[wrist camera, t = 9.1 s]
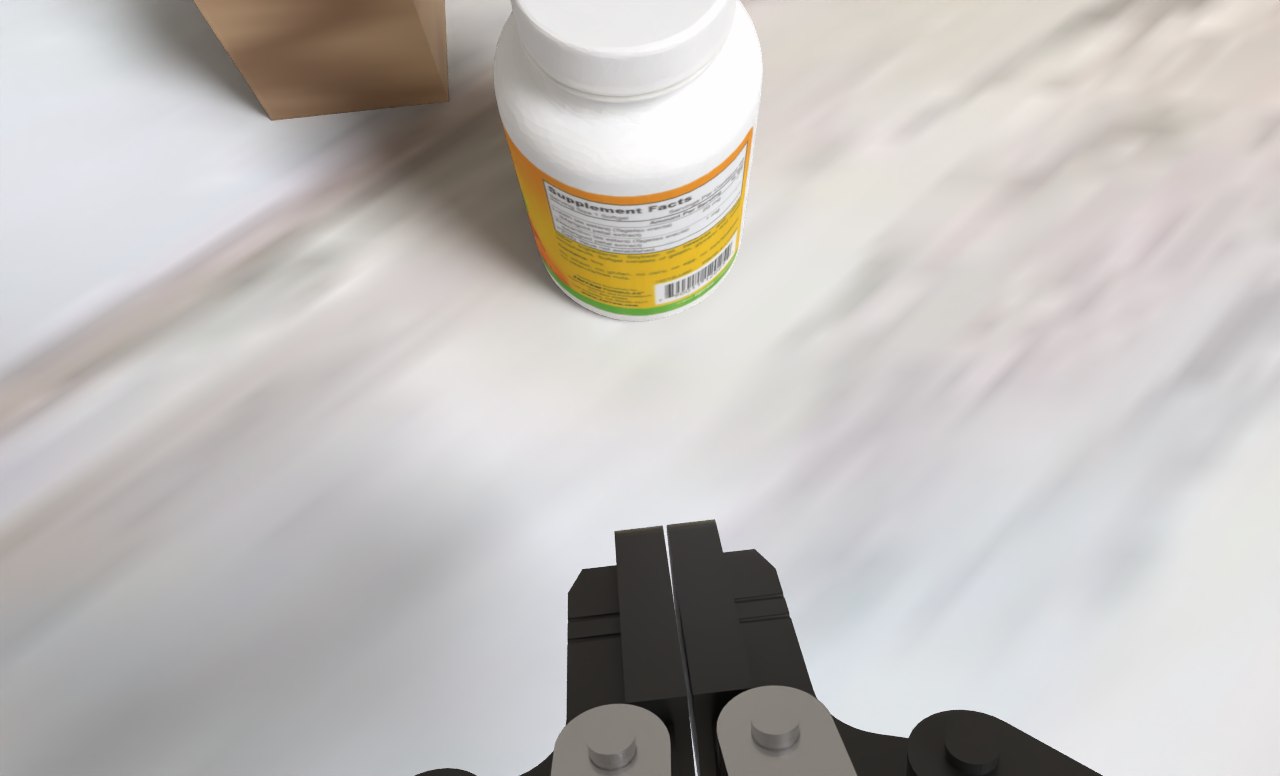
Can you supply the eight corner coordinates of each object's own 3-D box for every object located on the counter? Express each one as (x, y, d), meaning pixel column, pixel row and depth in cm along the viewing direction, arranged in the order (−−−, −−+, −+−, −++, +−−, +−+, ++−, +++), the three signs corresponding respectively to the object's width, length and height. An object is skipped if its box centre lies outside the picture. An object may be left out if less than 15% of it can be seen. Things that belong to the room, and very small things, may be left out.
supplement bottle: (566, 129, 27) (511, -184, 18) (759, 165, 26) (805, -140, 17) (514, 304, 25) (422, 57, 16) (718, 346, 25) (745, 115, 15)
